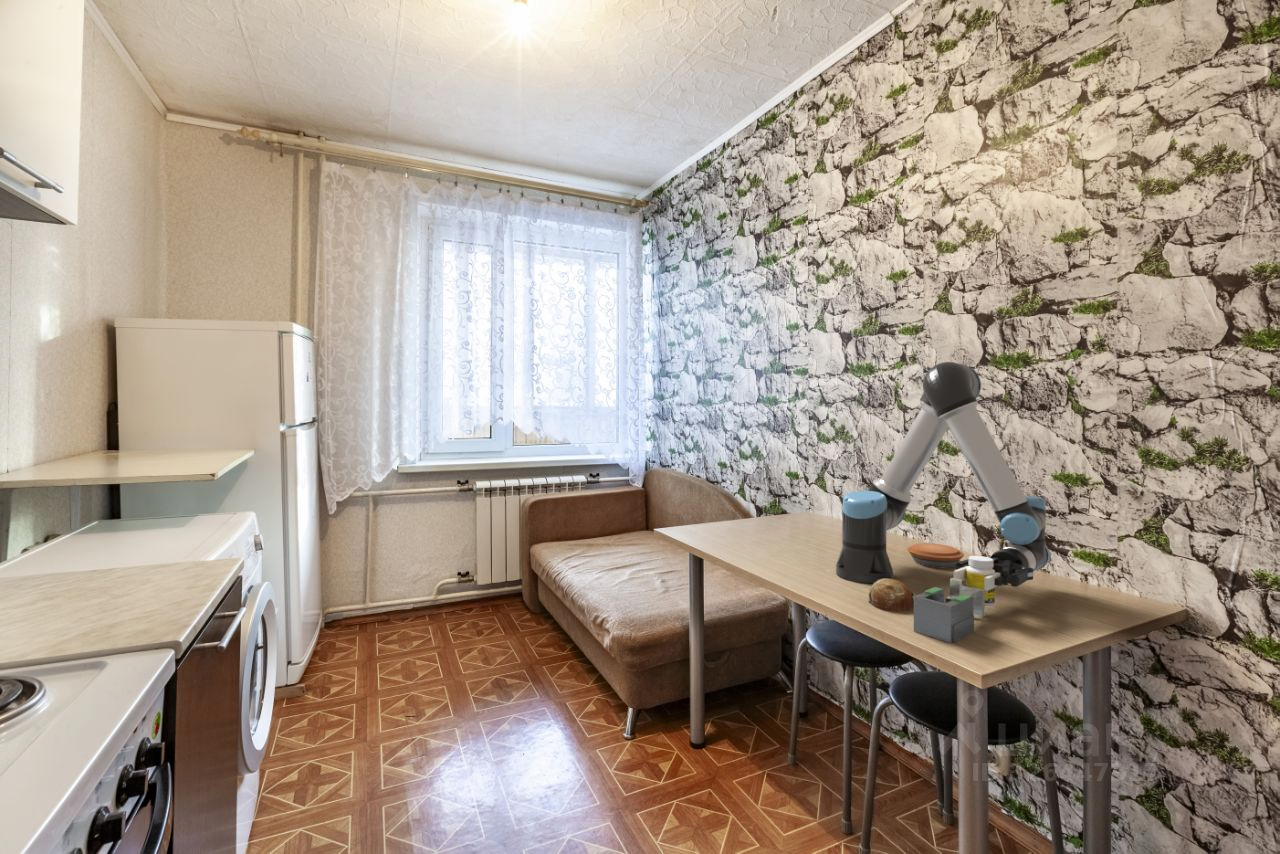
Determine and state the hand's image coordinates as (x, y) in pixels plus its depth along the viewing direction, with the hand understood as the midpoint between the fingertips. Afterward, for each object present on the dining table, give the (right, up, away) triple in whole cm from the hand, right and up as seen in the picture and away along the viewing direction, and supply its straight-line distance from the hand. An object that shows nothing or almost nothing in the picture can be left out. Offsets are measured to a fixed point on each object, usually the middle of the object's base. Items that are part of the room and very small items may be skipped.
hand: (970, 580), depth 124 cm
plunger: (-3, -8, -1) cm, 8 cm away
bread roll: (-13, -9, +11) cm, 19 cm away
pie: (+17, -8, +46) cm, 50 cm away
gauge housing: (-9, -9, -6) cm, 14 cm away
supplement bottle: (+4, -6, +3) cm, 8 cm away
